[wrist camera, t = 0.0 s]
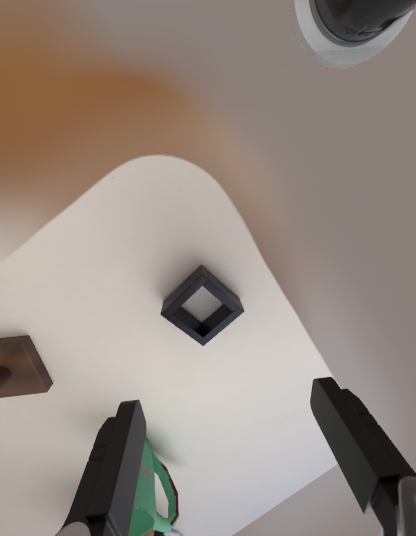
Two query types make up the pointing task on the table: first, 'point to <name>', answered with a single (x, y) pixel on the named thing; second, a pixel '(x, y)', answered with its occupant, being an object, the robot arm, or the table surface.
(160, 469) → the mug
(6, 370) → the post
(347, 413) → the robot arm
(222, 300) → the ring
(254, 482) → the table surface
